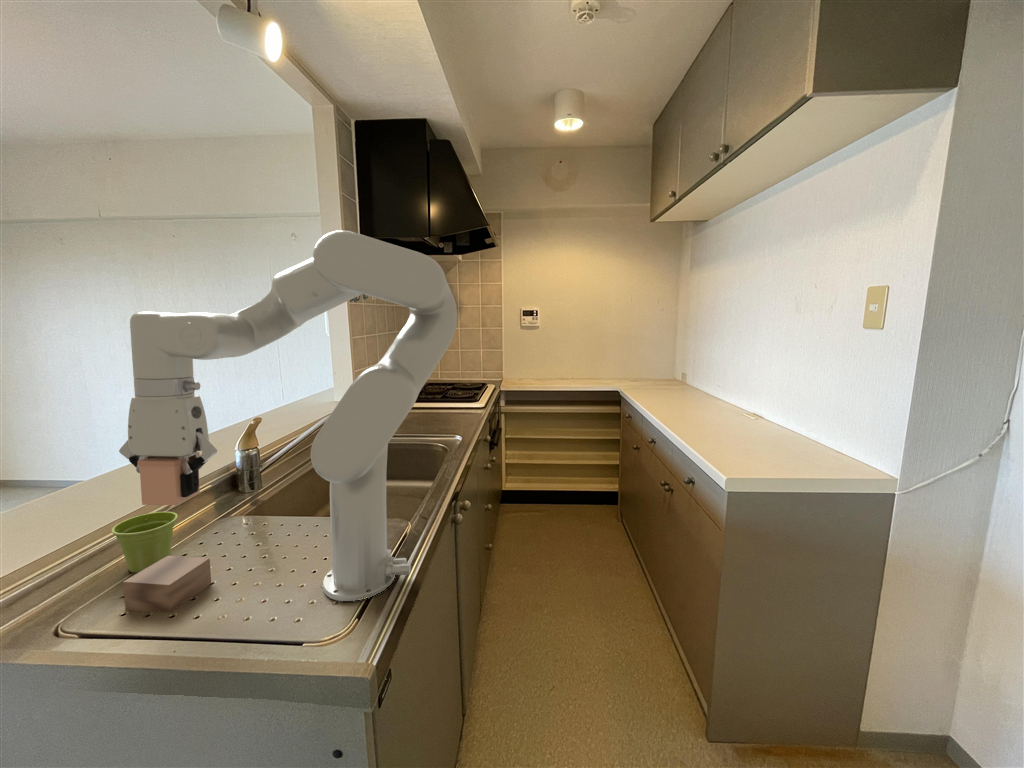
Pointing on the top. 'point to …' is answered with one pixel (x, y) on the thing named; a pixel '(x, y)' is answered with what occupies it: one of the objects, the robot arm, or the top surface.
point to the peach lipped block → (162, 481)
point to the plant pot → (146, 538)
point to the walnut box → (167, 584)
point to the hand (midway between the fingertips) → (171, 492)
